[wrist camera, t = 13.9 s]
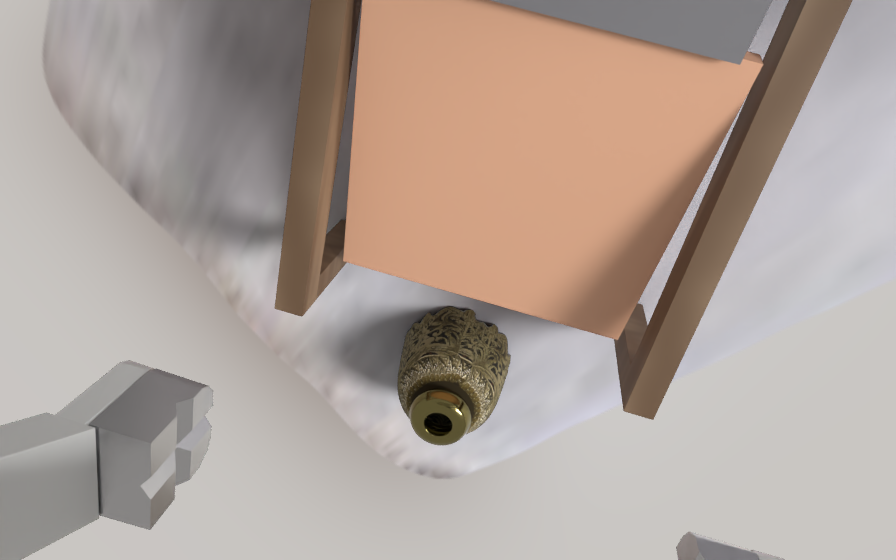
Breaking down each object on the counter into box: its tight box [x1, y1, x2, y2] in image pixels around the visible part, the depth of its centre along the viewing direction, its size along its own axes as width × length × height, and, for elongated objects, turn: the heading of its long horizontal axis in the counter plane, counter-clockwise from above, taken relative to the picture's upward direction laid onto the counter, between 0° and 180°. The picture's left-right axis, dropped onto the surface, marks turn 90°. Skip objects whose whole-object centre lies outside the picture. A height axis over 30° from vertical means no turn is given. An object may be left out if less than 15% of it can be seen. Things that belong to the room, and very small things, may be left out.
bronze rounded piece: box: [398, 307, 510, 445], centre depth 40 cm, size 7×7×8 cm
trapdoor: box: [343, 0, 772, 340], centre depth 28 cm, size 16×21×2 cm
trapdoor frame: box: [275, 0, 852, 419], centre depth 31 cm, size 20×24×10 cm
